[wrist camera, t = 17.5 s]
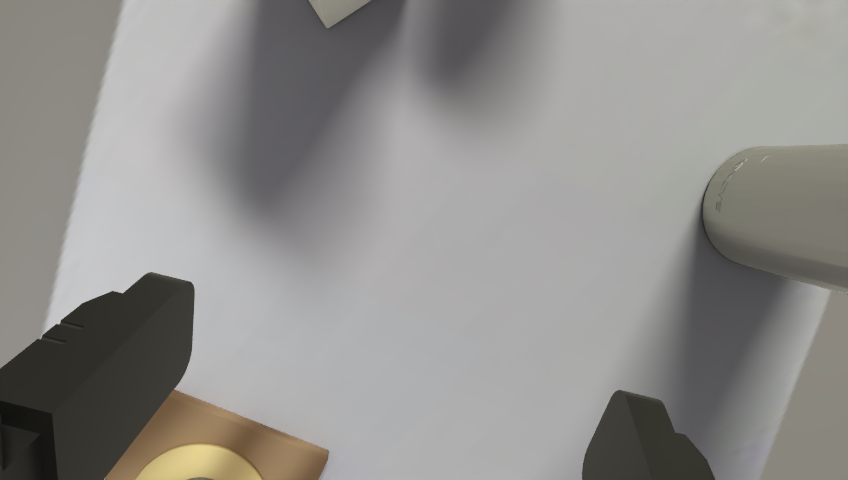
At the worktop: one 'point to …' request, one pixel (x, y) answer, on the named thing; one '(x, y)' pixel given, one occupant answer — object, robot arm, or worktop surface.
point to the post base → (214, 447)
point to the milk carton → (335, 9)
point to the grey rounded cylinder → (199, 478)
